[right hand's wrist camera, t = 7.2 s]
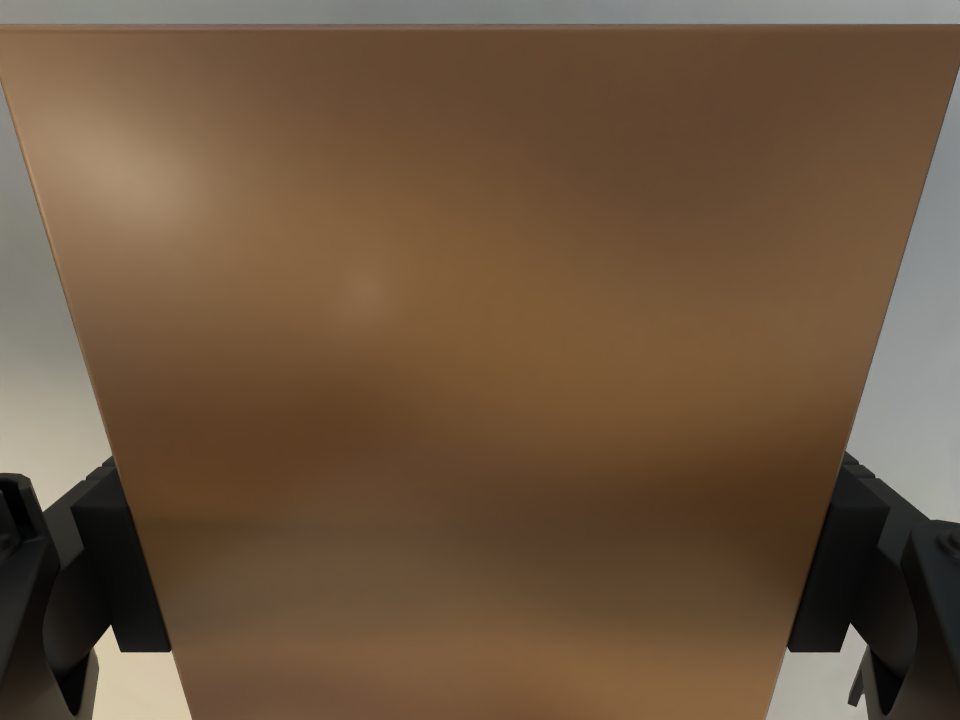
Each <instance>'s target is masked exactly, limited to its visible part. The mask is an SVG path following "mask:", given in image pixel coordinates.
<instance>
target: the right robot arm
mask: <svg viewBox="0 0 960 720" xmlns="http://www.w3.org/2000/svg"><path fill="white" fill-rule="evenodd" d="M850 623H851V624H852V625H853V627H854V628H855V629H856V630H857V632H858V633H859V634H860V635H861V637H862V638H863V639H864V640H865V642H866V643H867V644H868V645H867V648H866V650H865V653H864V656H863V658H862V661H861V664H860V666H859V669H858V671H857V674H856V677H855V679H854V682H853V685H852V687H851V690H850V693H849V699H848V704H850V705H852V706H855V707H857V704H858V702H859V699H860V696H861V695H862V694H864V693H865V699H866V706H867V713H868V719H869V720H960V523H954V522H948V521H942V520H930V519H929V518H927V517H926V516H925V515H924V514H922V513H921V512H920V511H919V510H918V509H916V508H915V507H914V506H913V505H911V504H910V503H909V502H908V501H906V500H905V499H904V498H903V497H902V496H900V495H899V494H898V493H897V492H895V491H894V490H893V489H892V488H890V487H889V486H888V485H887V484H886V483H884V482H883V481H882V480H881V479H879V478H875V475H874V474H873V473H872V472H871V471H870V470H868V469H867V468H866V467H865V466H863V465H859V462H858V461H857V460H856V459H855V458H854V457H852V456H851V455H850V454H849V453H847V452H846V451H845V453H844V457H843V460H842V463H841V467H840V470H839V473H838V477H837V480H836V484H835V487H834V490H833V494H832V497H831V500H830V504H829V507H828V510H827V514H826V517H825V521H824V524H823V527H822V531H821V534H820V537H819V541H818V544H817V547H816V551H815V554H814V558H813V561H812V564H811V568H810V571H809V574H808V578H807V581H806V584H805V588H804V591H803V594H802V598H801V601H800V605H799V608H798V611H797V615H796V618H795V621H794V625H793V628H792V631H791V635H790V638H789V642H788V645H787V647H788V649H789V650H790V652H840V650H841V647H842V644H843V641H844V639H845V636H846V633H847V630H848V627H849V624H850ZM110 625H111V626H112V629H113V631H114V634H115V637H116V640H117V643H118V646H119V648H120V651H121V652H170V651H171V646H170V643H169V640H168V636H167V633H166V630H165V626H164V623H163V620H162V616H161V613H160V610H159V606H158V603H157V600H156V596H155V593H154V590H153V586H152V583H151V580H150V576H149V573H148V570H147V566H146V563H145V560H144V556H143V553H142V550H141V546H140V543H139V540H138V536H137V533H136V530H135V526H134V523H133V520H132V516H131V513H130V510H129V506H128V504H127V501H126V497H125V494H124V491H123V487H122V484H121V481H120V477H119V474H118V471H117V467H116V464H115V461H114V457H113V455H112V456H111V457H110V458H109V459H107V460H106V461H105V462H104V463H102V467H98V468H96V469H95V470H94V471H93V472H92V473H90V474H89V475H88V476H87V477H86V480H82V481H81V482H79V483H78V484H77V485H76V486H74V487H73V488H72V489H71V490H70V491H68V492H67V493H66V494H65V495H63V496H62V497H61V498H60V499H59V500H57V501H56V502H55V503H54V504H52V505H51V506H50V507H49V508H48V509H46V510H45V511H44V512H42V510H41V507H40V504H39V502H38V499H37V496H36V494H35V491H34V488H33V486H32V483H31V480H30V479H29V478H28V477H26V476H24V475H22V474H15V473H0V720H92V715H93V708H94V701H95V694H96V687H97V680H98V673H99V665H98V659H97V656H96V653H95V650H94V648H93V647H94V645H95V644H96V643H97V641H98V640H99V639H100V638H101V636H102V635H103V634H104V633H105V631H106V630H107V629H108V627H109V626H110Z"/></svg>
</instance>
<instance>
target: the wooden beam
mask: <svg viewBox="0 0 960 720" xmlns="http://www.w3.org/2000/svg"><path fill="white" fill-rule="evenodd" d="M959 67H960V24H0V81H1V85H2V88H3V91H4V95H5V98H6V101H7V105H8V108H9V111H10V115H11V118H12V121H13V125H14V128H15V131H16V135H17V138H18V141H19V145H20V148H21V151H22V155H23V158H24V161H25V165H26V168H27V171H28V175H29V178H30V181H31V185H32V188H33V191H34V195H35V198H36V201H37V205H38V208H39V211H40V215H41V218H42V221H43V224H44V228H45V231H46V234H47V238H48V241H49V244H50V248H51V251H52V254H53V258H54V261H55V264H56V268H57V271H58V274H59V278H60V281H61V284H62V288H63V291H64V294H65V298H66V301H67V304H68V308H69V311H70V314H71V318H72V321H73V324H74V328H75V331H76V334H77V338H78V341H79V344H80V348H81V351H82V354H83V358H84V361H85V364H86V368H87V371H88V374H89V378H90V381H91V384H92V388H93V391H94V394H95V397H96V401H97V404H98V407H99V411H100V414H101V417H102V421H103V424H104V427H105V431H106V434H107V437H108V441H109V444H110V447H111V451H112V454H113V457H114V461H115V464H116V467H117V471H118V474H119V477H120V481H121V484H122V487H123V491H124V494H125V497H126V501H127V504H128V506H129V510H130V513H131V516H132V520H133V523H134V526H135V530H136V533H137V536H138V540H139V543H140V546H141V550H142V553H143V556H144V560H145V563H146V566H147V570H148V573H149V576H150V580H151V583H152V586H153V590H154V593H155V596H156V600H157V603H158V606H159V610H160V613H161V616H162V620H163V623H164V626H165V630H166V633H167V636H168V640H169V643H170V646H171V650H172V654H173V657H174V660H175V664H176V667H177V670H178V674H179V677H180V680H181V684H182V687H183V690H184V694H185V697H186V700H187V704H188V707H189V710H190V714H191V717H192V720H765V719H766V716H767V712H768V709H769V705H770V702H771V699H772V695H773V692H774V689H775V685H776V682H777V679H778V675H779V672H780V668H781V665H782V662H783V658H784V655H785V652H786V648H787V645H788V642H789V638H790V635H791V631H792V628H793V625H794V621H795V618H796V615H797V611H798V608H799V605H800V601H801V598H802V594H803V591H804V588H805V584H806V581H807V578H808V574H809V571H810V568H811V564H812V561H813V558H814V554H815V551H816V547H817V544H818V541H819V537H820V534H821V531H822V527H823V524H824V521H825V517H826V514H827V510H828V507H829V504H830V500H831V497H832V494H833V490H834V487H835V484H836V480H837V477H838V473H839V470H840V467H841V463H842V460H843V457H844V453H845V450H846V447H847V443H848V440H849V436H850V433H851V430H852V426H853V423H854V420H855V416H856V413H857V410H858V406H859V403H860V399H861V396H862V393H863V389H864V386H865V383H866V379H867V376H868V373H869V369H870V366H871V363H872V359H873V356H874V352H875V349H876V346H877V342H878V339H879V336H880V332H881V329H882V326H883V322H884V319H885V315H886V312H887V309H888V305H889V302H890V299H891V295H892V292H893V289H894V285H895V282H896V278H897V275H898V272H899V268H900V265H901V262H902V258H903V255H904V252H905V248H906V245H907V241H908V238H909V235H910V231H911V228H912V225H913V221H914V218H915V215H916V211H917V208H918V204H919V201H920V198H921V194H922V191H923V188H924V184H925V181H926V178H927V174H928V171H929V168H930V164H931V161H932V157H933V154H934V151H935V147H936V144H937V141H938V137H939V134H940V131H941V127H942V124H943V120H944V117H945V114H946V110H947V107H948V104H949V100H950V97H951V94H952V90H953V87H954V83H955V80H956V77H957V73H958V70H959Z"/></svg>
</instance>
